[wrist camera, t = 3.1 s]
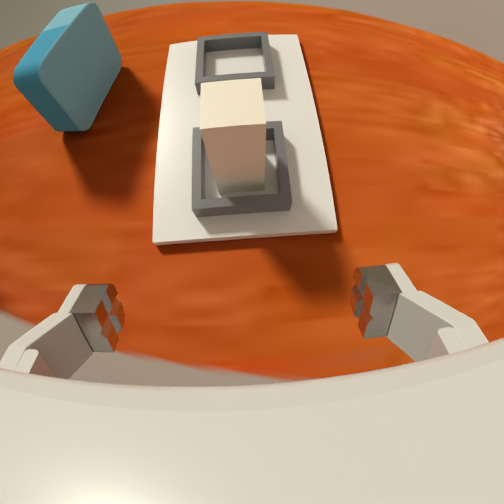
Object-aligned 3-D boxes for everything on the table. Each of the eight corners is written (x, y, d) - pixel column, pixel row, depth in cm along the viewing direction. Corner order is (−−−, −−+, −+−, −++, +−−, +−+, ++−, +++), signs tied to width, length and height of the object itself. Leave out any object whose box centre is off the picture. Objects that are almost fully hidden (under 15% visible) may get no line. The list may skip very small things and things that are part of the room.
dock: (156, 245, 28) (144, 236, 25) (171, 50, 34) (166, 33, 31) (335, 232, 28) (343, 222, 25) (296, 40, 34) (298, 23, 31)
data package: (98, 65, 34) (64, 4, 22) (125, 63, 34) (94, -4, 22) (60, 136, 31) (7, 78, 20) (87, 136, 31) (35, 71, 19)
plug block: (218, 193, 28) (199, 129, 18) (217, 154, 29) (200, 83, 19) (264, 190, 28) (266, 123, 18) (260, 151, 29) (260, 77, 19)
